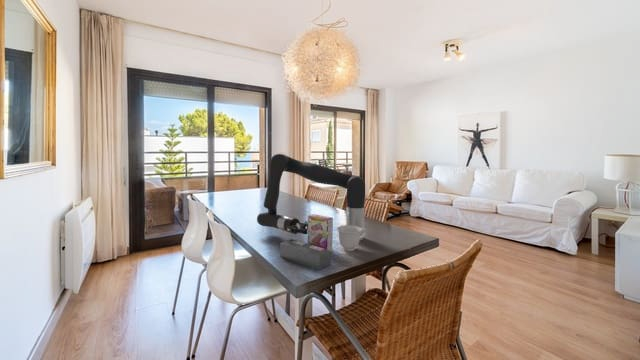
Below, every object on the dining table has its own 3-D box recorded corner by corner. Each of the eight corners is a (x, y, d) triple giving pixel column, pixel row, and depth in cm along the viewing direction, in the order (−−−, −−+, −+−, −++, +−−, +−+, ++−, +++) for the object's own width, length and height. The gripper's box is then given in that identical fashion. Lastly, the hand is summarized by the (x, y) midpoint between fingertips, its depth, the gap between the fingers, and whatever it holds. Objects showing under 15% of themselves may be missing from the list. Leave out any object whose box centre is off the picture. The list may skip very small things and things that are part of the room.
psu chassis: (291, 251, 128) (291, 238, 128) (330, 264, 115) (330, 249, 114) (280, 256, 123) (280, 242, 122) (319, 270, 109) (319, 254, 109)
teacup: (371, 252, 130) (372, 230, 129) (341, 254, 125) (342, 233, 124) (360, 243, 141) (361, 224, 140) (332, 246, 137) (333, 226, 136)
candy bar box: (306, 250, 131) (307, 215, 129) (312, 247, 135) (313, 213, 133) (327, 255, 125) (327, 219, 123) (332, 251, 129) (333, 217, 127)
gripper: (277, 219, 136) (302, 225, 126) (298, 214, 147) (322, 219, 137) (278, 234, 137) (302, 241, 127) (297, 228, 148) (322, 234, 138)
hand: (312, 230), depth 132 cm, fingers open, 8 cm apart
